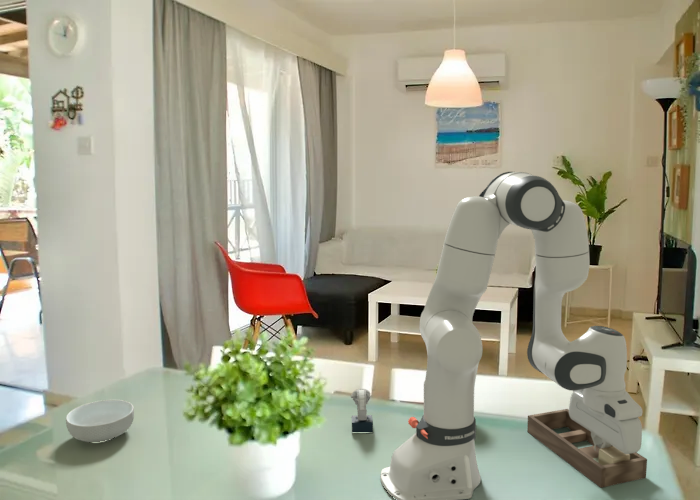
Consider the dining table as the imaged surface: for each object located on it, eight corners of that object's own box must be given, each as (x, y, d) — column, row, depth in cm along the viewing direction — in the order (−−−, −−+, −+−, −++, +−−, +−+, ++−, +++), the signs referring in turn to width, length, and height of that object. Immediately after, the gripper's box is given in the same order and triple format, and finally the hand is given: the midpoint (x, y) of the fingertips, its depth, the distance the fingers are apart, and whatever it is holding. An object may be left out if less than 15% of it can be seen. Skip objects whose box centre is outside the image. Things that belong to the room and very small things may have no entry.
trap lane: (600, 487, 133) (601, 468, 132) (527, 431, 159) (527, 415, 158) (645, 477, 136) (647, 459, 135) (566, 424, 163) (567, 408, 162)
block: (612, 473, 135) (613, 458, 134) (598, 463, 139) (599, 448, 138) (629, 469, 136) (629, 454, 136) (614, 459, 140) (615, 445, 140)
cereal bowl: (132, 447, 156) (130, 421, 155) (62, 456, 153) (59, 429, 151) (138, 418, 173) (136, 395, 171) (75, 426, 169) (72, 402, 168)
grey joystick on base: (371, 422, 167) (371, 384, 165) (373, 436, 159) (372, 396, 157) (351, 423, 167) (350, 384, 165) (351, 437, 159) (350, 396, 157)
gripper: (563, 382, 148) (561, 435, 150) (624, 416, 128) (621, 477, 131) (585, 378, 150) (583, 431, 152) (648, 412, 130) (645, 472, 133)
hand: (601, 453), depth 141 cm, fingers closed
